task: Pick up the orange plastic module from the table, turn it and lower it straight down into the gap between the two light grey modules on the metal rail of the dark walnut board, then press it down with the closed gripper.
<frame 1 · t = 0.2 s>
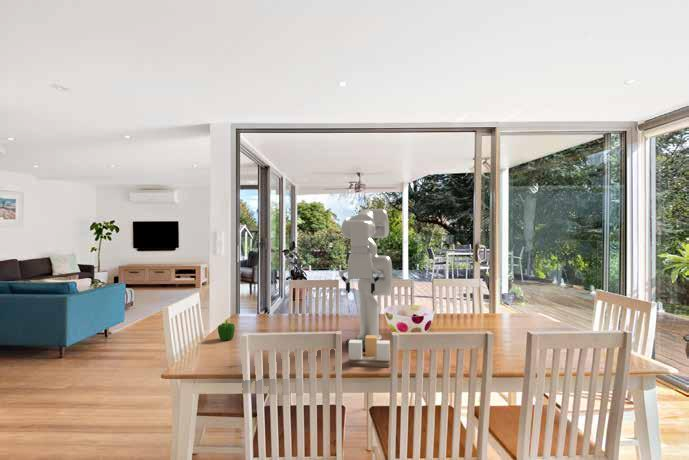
hand: (360, 292, 172), 31 cm above the table, tool pointing down, fingers open, 9 cm apart
bell pepper: (226, 339, 218), on the table
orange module: (371, 354, 190), on the table
rail board: (369, 362, 179), on the table
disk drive: (358, 348, 201), on the table
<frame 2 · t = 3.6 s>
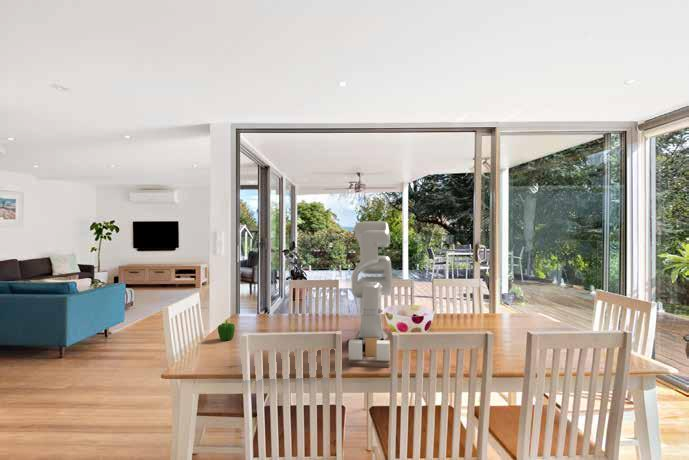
hand: (371, 352, 190), 1 cm above the table, tool pointing down, fingers closed on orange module, 5 cm apart
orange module: (371, 354, 190), on the table, touching gripper
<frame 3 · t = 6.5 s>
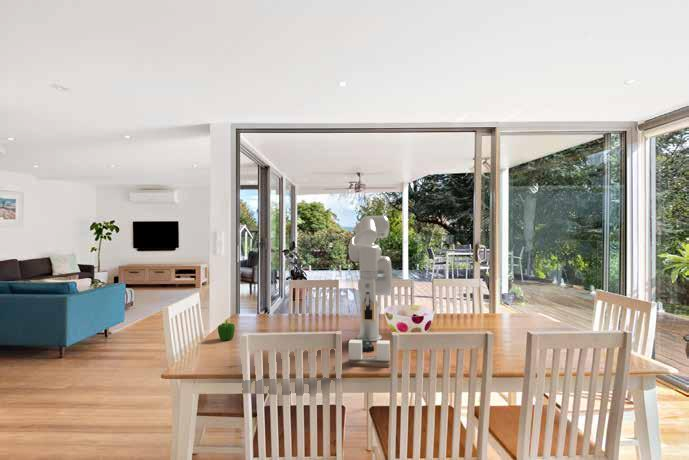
hand: (369, 317, 178), 19 cm above the table, tool pointing down, fingers closed on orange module, 5 cm apart
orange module: (368, 319, 178), point 18 cm above the table, touching gripper
when the fingers open (4 cm above the table, at t = 9.6 s): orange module drops 1 cm, resting on rail board.
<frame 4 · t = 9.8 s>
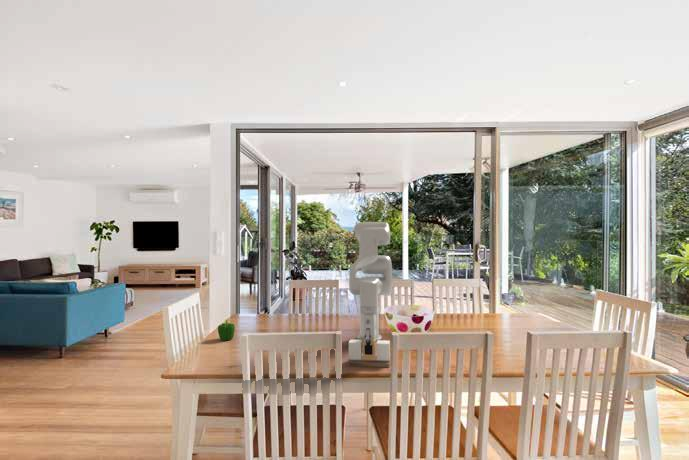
hand: (369, 351, 178), 5 cm above the table, tool pointing down, fingers open, 7 cm apart
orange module: (369, 358, 179), point 2 cm above the table, touching rail board
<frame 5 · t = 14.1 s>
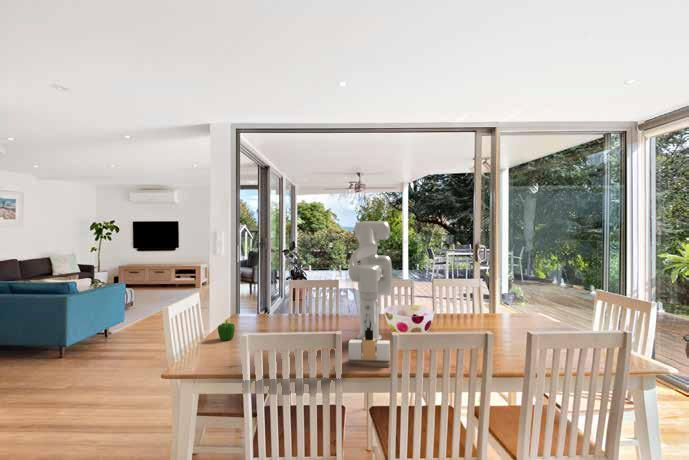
hand: (369, 339, 178), 10 cm above the table, tool pointing down, fingers closed
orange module: (369, 358, 179), point 2 cm above the table, touching gripper, rail board
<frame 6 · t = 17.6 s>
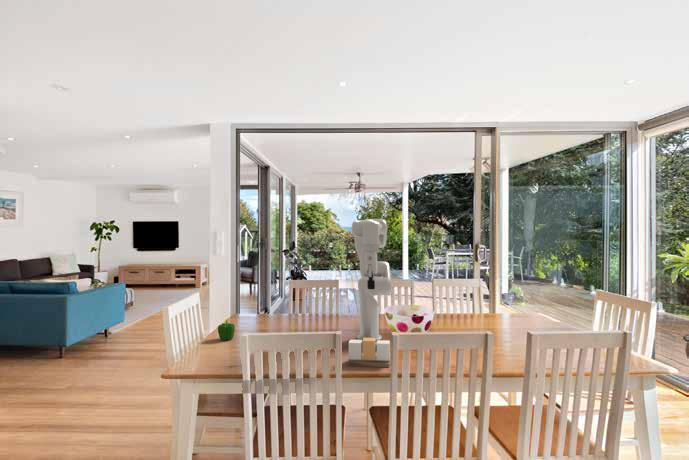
hand: (371, 288, 192), 29 cm above the table, tool pointing down, fingers closed
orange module: (369, 358, 179), point 2 cm above the table, touching rail board
at the end: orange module 0.0 cm off-centre on the rail board, point 1.9 cm above the rail board's base; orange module tilted 0°; the gripper is holding nothing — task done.
